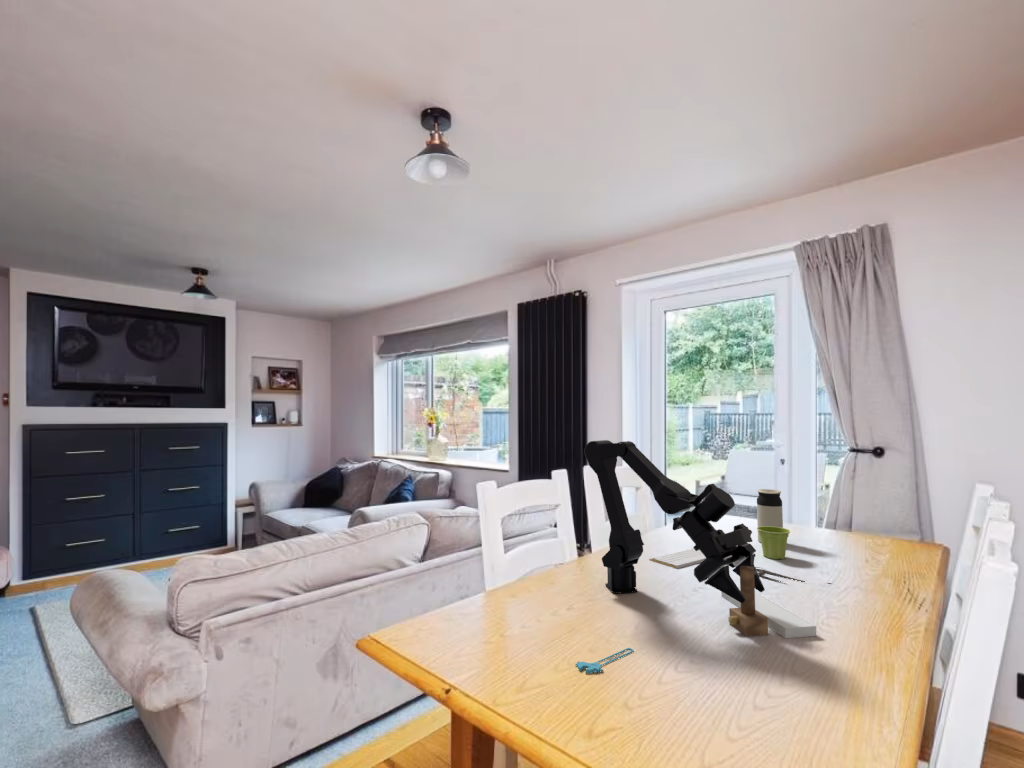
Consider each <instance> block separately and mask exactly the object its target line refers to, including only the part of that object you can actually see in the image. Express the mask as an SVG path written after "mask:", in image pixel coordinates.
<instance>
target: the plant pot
mask: <svg viewBox="0 0 1024 768" xmlns="http://www.w3.org/2000/svg"><path fill="white" fill-rule="evenodd" d="M756 531H757V532H758V531H759V534H760V539H761V542H760V543H761V548H762V549H761V550H762V555H763V557H766V558H767V559H772V560H779V559H781V560H784V559H785V558H786V554H787V553H786V551H787V544H788V537H789V534H790V533H791V530H790V529H788V528H785V527H783V528H780V527H773V526H761V527H758V526H756Z"/></svg>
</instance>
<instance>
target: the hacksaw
mask: <svg viewBox="0 0 1024 768" xmlns="http://www.w3.org/2000/svg"><path fill="white" fill-rule="evenodd" d="M755 569H756V571H757V572H758V576H759V578H764V579H766V580H771V581H774V582H778V583H780V582H781V581H782V580H778V579H775V578H771V577H768V576H765V575H766V574H768V575H772V576H775V577H779V576H780V578H782V577H784V578H783V579H786V578H788V579H787V580H791V579H793V580H792V581H795V580H797V581H796V582H799V581H801V582H800V583H803V582H805V581H806V580H801V579H797V578H795V577H791V576H787V575H782V574H781V573H776V572H774V571H773V572H772V571H770V570H767V569H765V568H763V567H760V566H755ZM779 581H780V582H779Z"/></svg>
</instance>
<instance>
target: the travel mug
mask: <svg viewBox="0 0 1024 768" xmlns="http://www.w3.org/2000/svg"><path fill="white" fill-rule="evenodd" d="M756 491H757V493H758V494H757V495H758V496H757V498H756V514H757V515H756V516H757V518H756V521H757V527H761V526H773V527H780V528H784V522H783V520H784V519H783V517H784V516H783V500H782V498H781V497H780V496H781V493H782V491H780V490H777V489H772V488H771V489H770V488H769V489H768V488H762V489H761V488H760V489H757V490H756ZM757 542H759V543H761V539H760V534H759V531H758V530H757Z"/></svg>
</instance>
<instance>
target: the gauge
mask: <svg viewBox="0 0 1024 768" xmlns="http://www.w3.org/2000/svg"><path fill="white" fill-rule="evenodd" d="M758 573H759V571H758V570H756V571H755V572H754V568H753V567H750V566H740V576H739V587H740V591H741V593H742V594H743V596H744V598H745V600H746V601H745V602H743V603H741V608H739V607H731V608H730V607H729V609H728V610H729V616H728V623H729V625H730V626H731V627H732V628H734V629H735V630H736V631H738V632H739V633H741V635H743V636H744V637H746V638H747V637H748V638H749V637H758V636H759V637H761V636H769V627H768V618H767V617H766V616H764V615H763V614H761V613H759V612H758V611H756V610H755V591H756V589H755V583H754V575H755V574H758Z"/></svg>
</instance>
